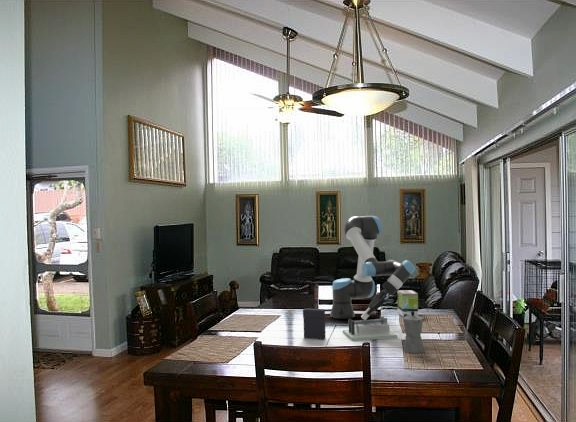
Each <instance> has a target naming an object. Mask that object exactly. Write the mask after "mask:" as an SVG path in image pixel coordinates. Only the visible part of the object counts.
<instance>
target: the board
mask: <svg viewBox="0 0 576 422" xmlns="http://www.w3.org/2000/svg"><path fill="white" fill-rule="evenodd" d="M342 334H343V335H345V336H346V337H347V338H348V339H349V340H350V341H353V342H355V341H371V340H385V339H387V340H388V339H389V340H390V339H398V334H396V333H395V332H393V331H392V330H390V334H382V335H365V336H359V335H357V334H356V333H355V335H351V333H349V329H342Z"/></svg>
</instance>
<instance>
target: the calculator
mask: <svg viewBox="0 0 576 422" xmlns="http://www.w3.org/2000/svg"><path fill="white" fill-rule="evenodd" d="M302 319H303V338H304V339H312V340H322V341H323V340H324V339H326V337H327V336H326V310H325V309H323V308H303V310H302Z"/></svg>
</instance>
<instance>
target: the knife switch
mask: <svg viewBox="0 0 576 422" xmlns="http://www.w3.org/2000/svg"><path fill="white" fill-rule="evenodd" d="M382 318H383V322H374V323H360V324H354V321H355V320H353V319H352V318H347V319H348V330H349V333H351V335H355V333H356V334H357V335H359V336H365V335H382V334H390V331H391V330H390V323H388V318H387V317H385V316H383V315H381V316H380V315H379V319H382ZM352 320H353V321H352Z"/></svg>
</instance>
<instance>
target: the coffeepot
mask: <svg viewBox="0 0 576 422" xmlns="http://www.w3.org/2000/svg"><path fill="white" fill-rule="evenodd" d="M402 320H403V325H404V332H405V338H404V344H403V345H404V346H403V351H404V352H406V353H409V354H420V353H424V345H423V339H422V335H421V333H422V332H423V331H422V330H423V324H424V323H423V321H424V317H422V316H419V315H418V316H414V312H413V311H412V312H411V316H410V315H407V314H405V315H404V317H402Z"/></svg>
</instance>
